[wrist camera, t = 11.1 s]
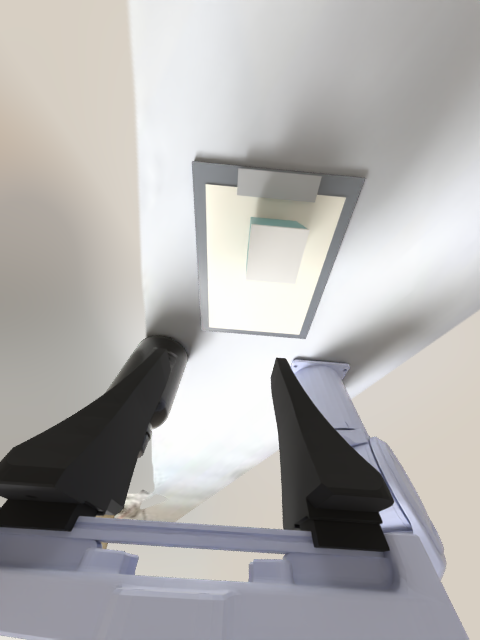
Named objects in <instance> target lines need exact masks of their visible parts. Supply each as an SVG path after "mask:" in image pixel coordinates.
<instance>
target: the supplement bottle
mask: <svg viewBox="0 0 480 640" xmlns="http://www.w3.org/2000/svg"><path fill="white" fill-rule="evenodd" d="M157 348H161V349H167V353H168V357H169V362H170V367H171V372H170V375H169V378H168V381H167V384H166V387H165V389H164V391H163V393H162V396H161V398H160V400H159V402H158V405H157V407H156V409H155V411H154V413H153V416H152V418H151V420H150V423H149V425H148V428H147V431H146V434H145V437H144V440H143V443H142V446H141V449H140V452H139V455H138V458H139V457H141V456H142V455H143V453H144V451H145V448H146V446H147V443H148V441H149V440H150V439H151V436H152V431H151V430H152V429H155V428H157V427H159V426H160V425H162V424H163V423H164V422H165V421H166V419H167V418H168V415H169V413H170V410H171V407H172V404H173V401H174V398H175V395H176V393H177V390H178V387H179V384H180V381H181V378H182V375H183V372H184V369H185V366H186V363H187V353H186V351H185V349H184V348H183V346H182V345H181V344H179V343H178V342H177V341H175V340H173V339H171V338H168V337H164V336H151V337H148V338H145V339H144V340H142V341H141V342H140V343H139V345H138V346H137V348H136V349H135V350H134V352H133V354H132V355H131V356H130V358H129V359H128V361H127V362H126V364H125V365H124V366H123V368H122V369H121V371H120V372H119V374H118V375H117V377H116V378H115V380H114V381H113V382H112V384H111V386H110V387H109V388H108V390H107V391H106V392H108V391H109V390H110V389H112V388H113V387H114V386H115V385H117V384H118V383H119V382H120V381H121V380H123V379H124V378H125V377H126V376H127V375H129V374H130V373H131V372H132V371H133V370H134V369H135V368H136V367H138V366H139V365H140V364H141V363H142V362H143V361H144V360H145V359H146V358H147V357H148V356H149V355H150V354H152V353H153V352H154V351H155V350H156V349H157Z"/></svg>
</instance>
